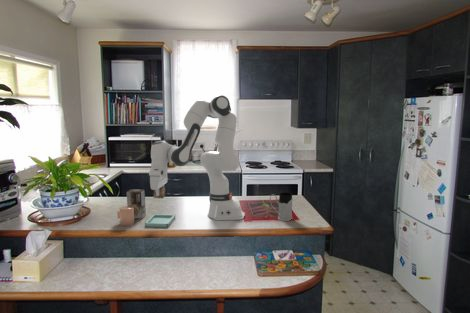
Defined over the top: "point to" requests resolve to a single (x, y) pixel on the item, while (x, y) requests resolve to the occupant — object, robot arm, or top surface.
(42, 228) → the top surface
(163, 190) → the walnut block
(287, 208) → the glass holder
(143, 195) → the coffee box
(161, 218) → the tray
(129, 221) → the tan ball with tab
